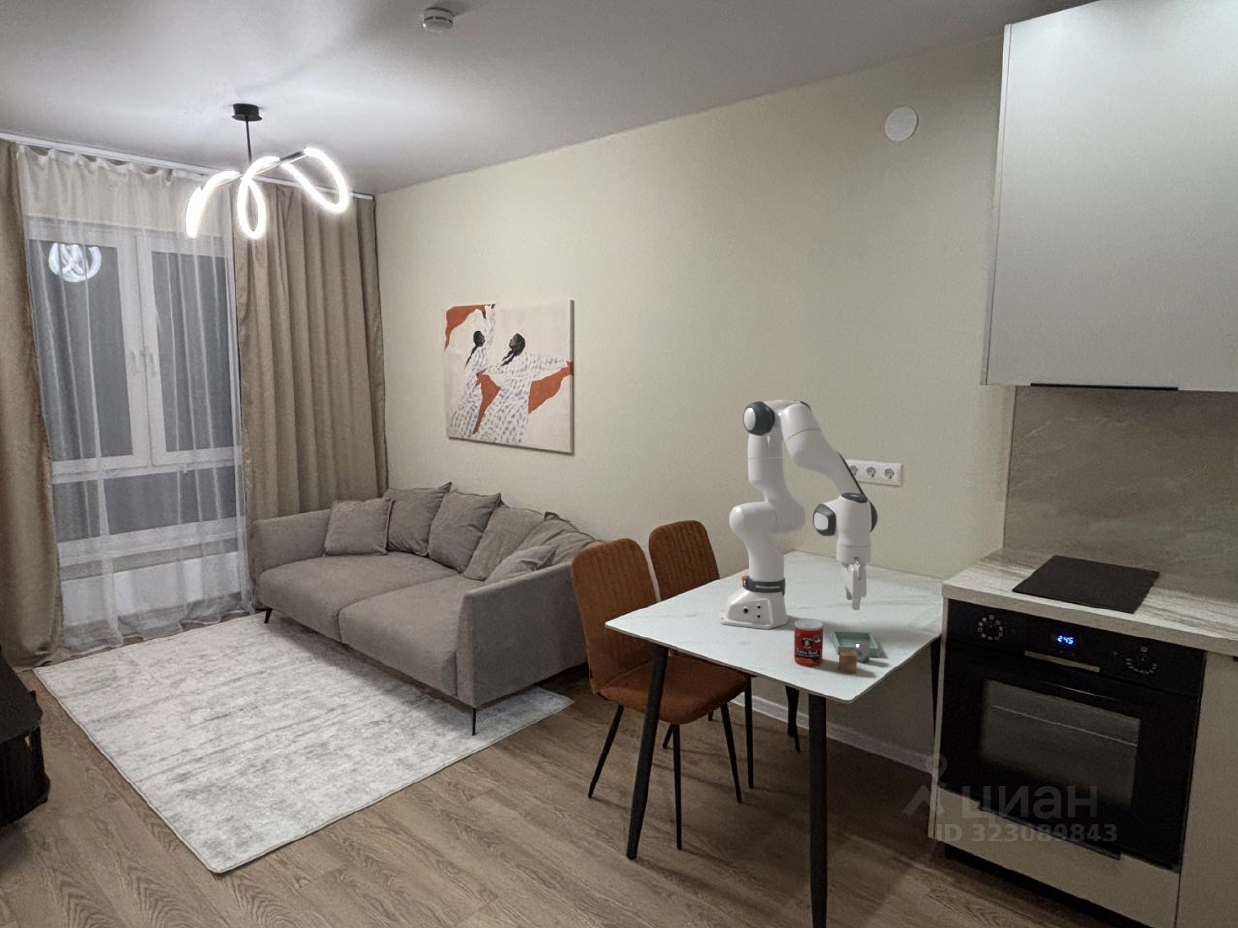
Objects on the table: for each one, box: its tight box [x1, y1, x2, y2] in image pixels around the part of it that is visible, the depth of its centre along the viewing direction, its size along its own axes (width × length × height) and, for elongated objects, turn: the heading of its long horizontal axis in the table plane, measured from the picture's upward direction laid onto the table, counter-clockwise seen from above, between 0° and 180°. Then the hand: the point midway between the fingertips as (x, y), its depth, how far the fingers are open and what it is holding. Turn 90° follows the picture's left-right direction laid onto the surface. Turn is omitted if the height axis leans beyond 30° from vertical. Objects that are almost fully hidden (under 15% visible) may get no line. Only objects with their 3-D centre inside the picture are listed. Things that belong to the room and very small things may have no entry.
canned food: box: [793, 618, 824, 667], centre depth 209 cm, size 8×8×11 cm
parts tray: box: [830, 630, 880, 658], centre depth 220 cm, size 11×13×2 cm
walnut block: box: [838, 650, 858, 675], centre depth 204 cm, size 4×4×5 cm
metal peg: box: [855, 641, 871, 665], centre depth 210 cm, size 4×4×5 cm
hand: (852, 604), depth 203 cm, fingers open, 8 cm apart
